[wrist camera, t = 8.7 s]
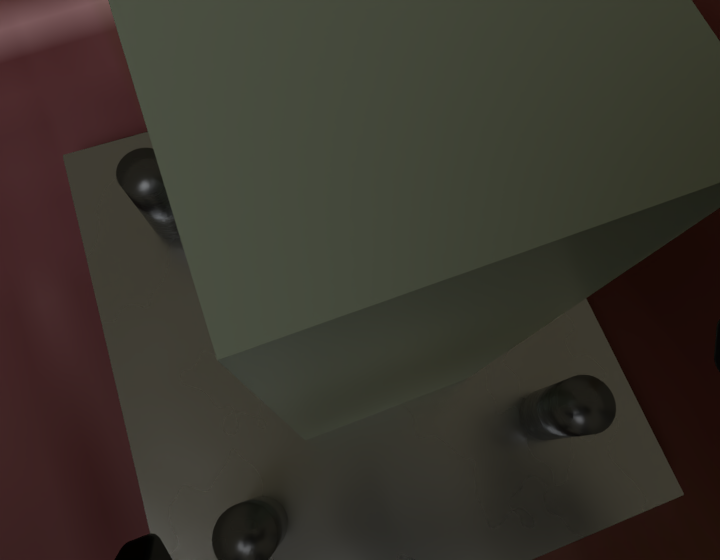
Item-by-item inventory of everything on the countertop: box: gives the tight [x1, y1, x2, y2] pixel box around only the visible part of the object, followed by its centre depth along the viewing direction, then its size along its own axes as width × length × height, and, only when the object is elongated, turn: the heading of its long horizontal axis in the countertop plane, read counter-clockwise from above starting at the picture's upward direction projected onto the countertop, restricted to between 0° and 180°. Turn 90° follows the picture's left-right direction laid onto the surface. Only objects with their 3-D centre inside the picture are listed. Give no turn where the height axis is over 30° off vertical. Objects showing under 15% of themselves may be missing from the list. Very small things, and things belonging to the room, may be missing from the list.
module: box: [108, 0, 720, 440], centre depth 11 cm, size 6×5×12 cm
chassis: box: [63, 132, 684, 560], centre depth 16 cm, size 16×14×4 cm
